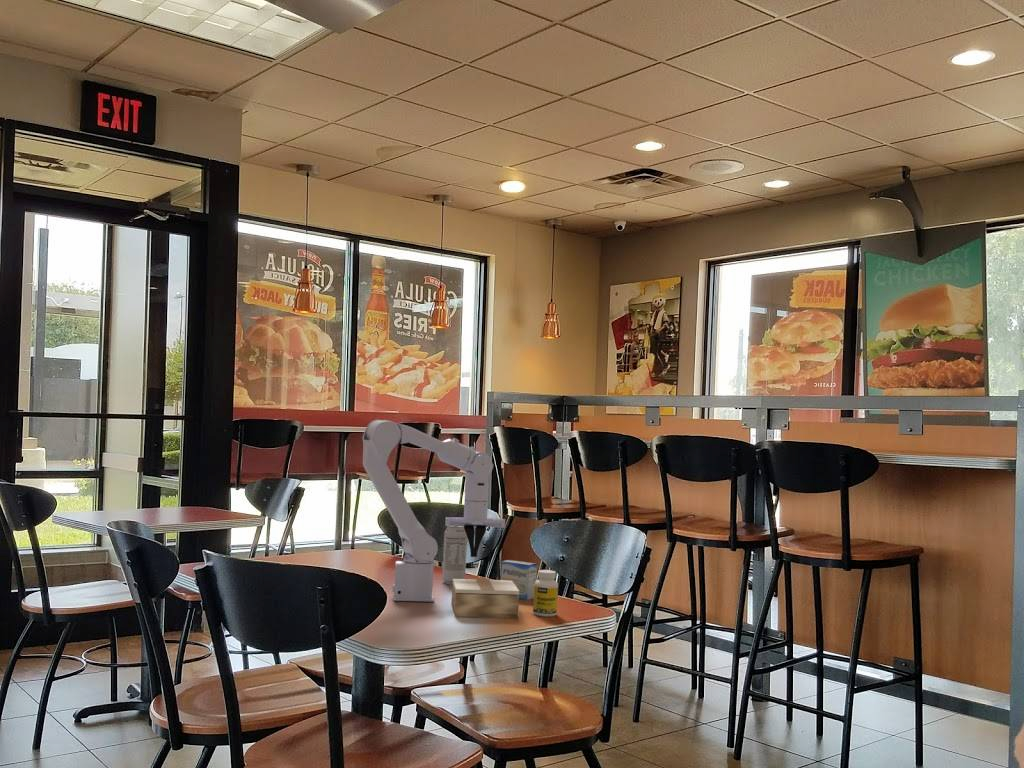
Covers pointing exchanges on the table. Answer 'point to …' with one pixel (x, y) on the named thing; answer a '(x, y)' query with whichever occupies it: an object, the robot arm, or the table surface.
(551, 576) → the supplement bottle
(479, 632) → the table surface
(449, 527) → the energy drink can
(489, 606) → the crate
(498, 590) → the lid
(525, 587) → the medicine box
